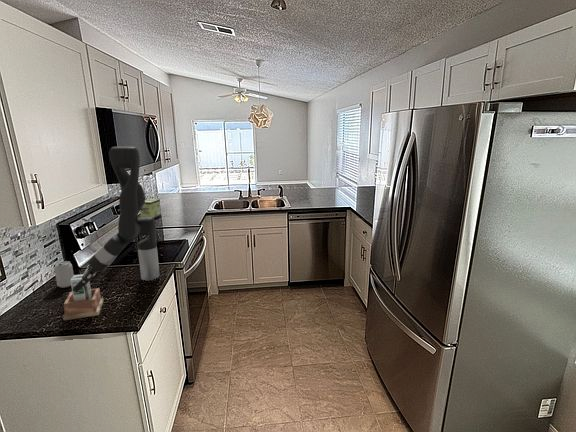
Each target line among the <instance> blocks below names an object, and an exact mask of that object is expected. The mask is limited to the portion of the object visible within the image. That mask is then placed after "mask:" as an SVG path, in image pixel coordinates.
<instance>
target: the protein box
mask: <svg viewBox="0 0 576 432" xmlns="http://www.w3.org/2000/svg"><path fill="white" fill-rule="evenodd" d="M161 208H162V207H161V198H160V199H159V198H147V199H145V203H144V205H143V207H142V208H141V210H140V211H139V213H140V218H143V217H153V218H154V220H156V219H157V218H160V217H162V209H161Z"/></svg>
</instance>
